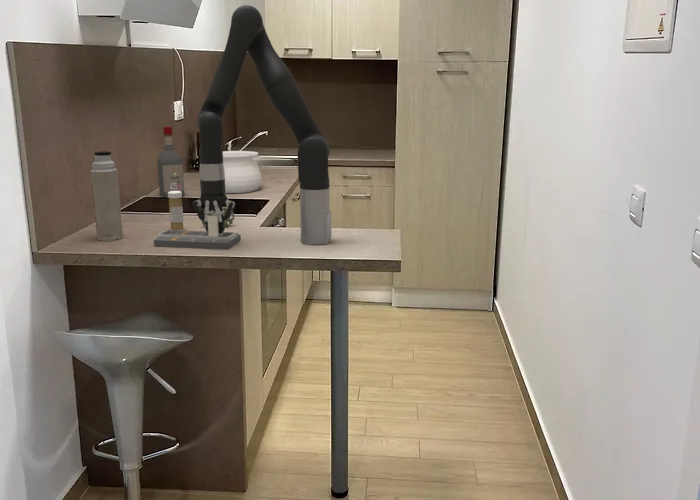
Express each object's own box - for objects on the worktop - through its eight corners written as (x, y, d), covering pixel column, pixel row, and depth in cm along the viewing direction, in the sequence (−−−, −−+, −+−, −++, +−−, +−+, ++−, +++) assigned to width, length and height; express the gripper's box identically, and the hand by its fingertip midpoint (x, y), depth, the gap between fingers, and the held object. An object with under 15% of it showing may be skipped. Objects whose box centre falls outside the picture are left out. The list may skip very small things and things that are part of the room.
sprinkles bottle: (171, 229, 235) (168, 190, 232) (185, 229, 236) (182, 190, 232) (169, 232, 231) (166, 192, 228) (183, 232, 231) (180, 192, 228)
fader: (223, 235, 216) (221, 213, 215) (217, 238, 212) (216, 216, 210) (213, 234, 217) (212, 213, 215) (208, 238, 212) (206, 216, 210)
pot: (199, 194, 306) (197, 156, 302) (216, 185, 329) (214, 150, 325) (255, 195, 303) (254, 156, 299) (268, 186, 326) (267, 150, 322)
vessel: (235, 223, 245) (234, 206, 243) (234, 228, 236) (233, 210, 235) (201, 224, 244) (200, 206, 242) (198, 229, 235) (197, 211, 234)
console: (240, 240, 219) (240, 230, 219) (228, 249, 208) (227, 239, 207) (170, 237, 224) (169, 227, 223) (153, 246, 212) (153, 236, 211)
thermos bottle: (93, 241, 219) (84, 153, 212) (102, 235, 227) (94, 150, 220) (117, 241, 219) (110, 153, 212) (126, 235, 227) (119, 150, 220)
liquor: (186, 197, 298) (182, 127, 290) (166, 199, 292) (161, 128, 285) (177, 194, 305) (173, 126, 297) (158, 196, 299) (153, 126, 292)
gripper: (238, 176, 212) (240, 231, 216) (195, 175, 214) (198, 229, 219) (230, 180, 205) (232, 236, 209) (185, 179, 207) (189, 234, 212)
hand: (215, 232), depth 214 cm, fingers closed on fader, 3 cm apart
